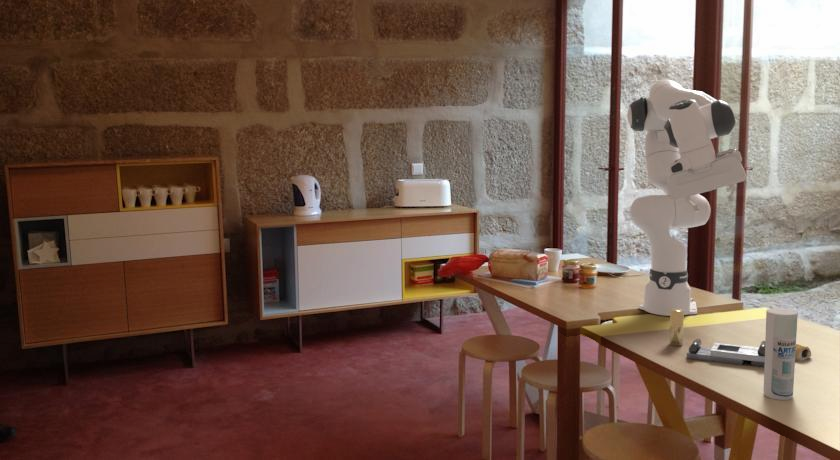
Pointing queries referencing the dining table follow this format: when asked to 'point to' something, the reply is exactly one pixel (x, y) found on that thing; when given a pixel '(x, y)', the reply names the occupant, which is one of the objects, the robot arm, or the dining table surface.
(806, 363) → the dining table surface
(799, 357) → the pastry
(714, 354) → the grey roller block
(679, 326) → the gold rounded cylinder
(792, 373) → the spray can
